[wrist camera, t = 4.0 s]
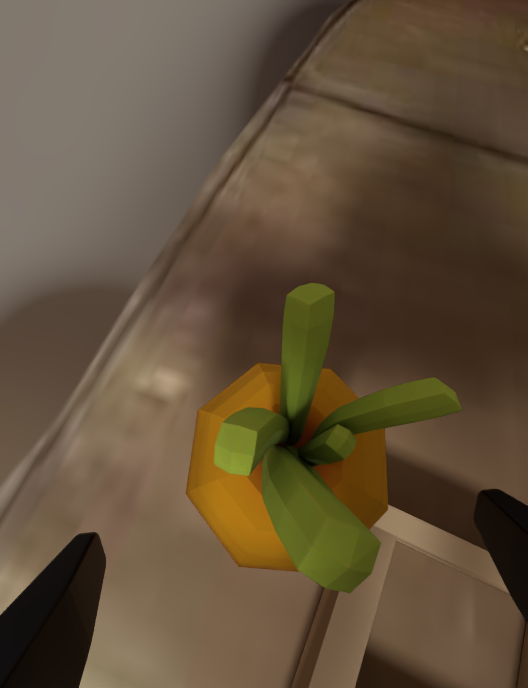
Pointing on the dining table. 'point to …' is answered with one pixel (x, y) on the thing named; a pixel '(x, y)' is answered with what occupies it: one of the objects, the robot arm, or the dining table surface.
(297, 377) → the carrot
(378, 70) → the dining table surface
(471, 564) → the open matchbox
